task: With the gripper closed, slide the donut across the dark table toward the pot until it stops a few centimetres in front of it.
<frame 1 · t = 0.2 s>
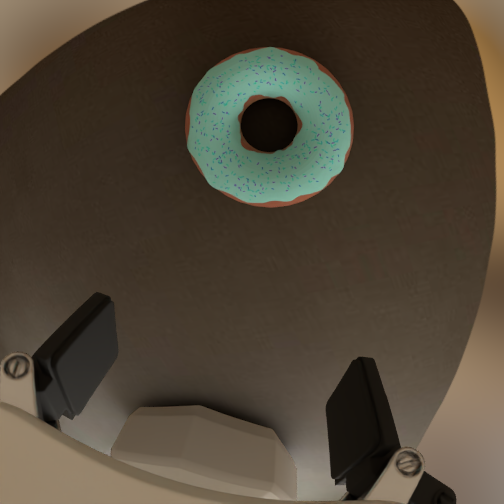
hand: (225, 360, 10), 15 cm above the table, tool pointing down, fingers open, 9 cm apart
pot: (210, 441, 37), on the table
donut: (270, 126, 20), on the table
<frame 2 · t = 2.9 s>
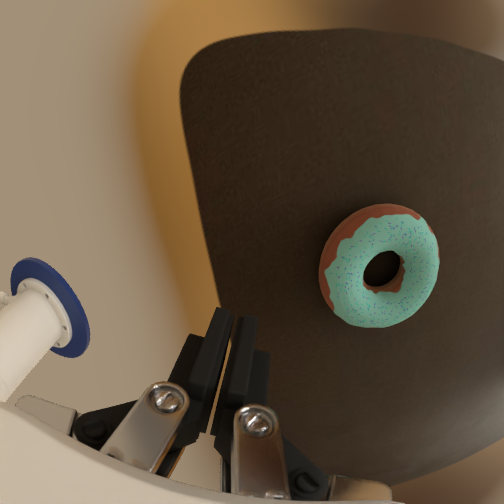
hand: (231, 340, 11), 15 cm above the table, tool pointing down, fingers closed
donut: (375, 260, 25), on the table
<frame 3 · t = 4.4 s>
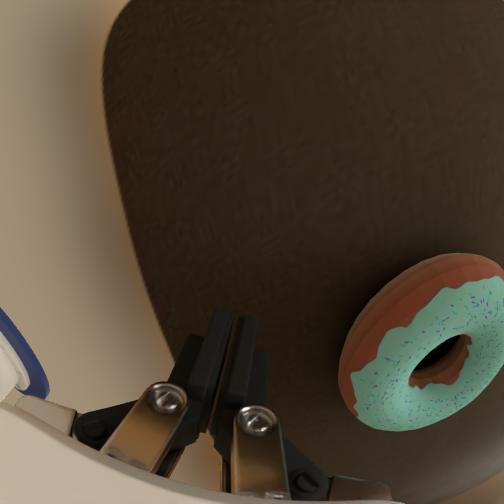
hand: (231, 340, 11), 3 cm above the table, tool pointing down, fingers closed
donut: (424, 332, 14), on the table
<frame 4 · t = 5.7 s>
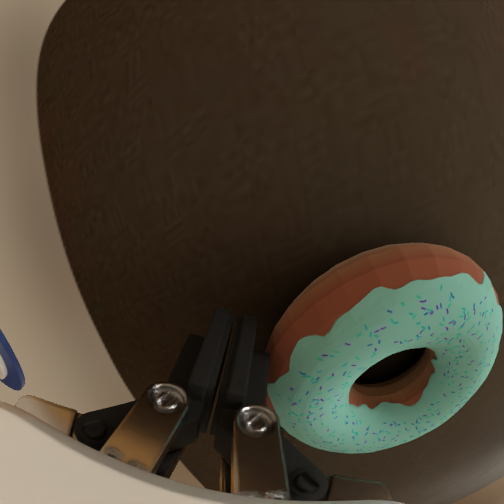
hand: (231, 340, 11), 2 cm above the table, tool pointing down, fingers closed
donut: (380, 339, 13), on the table, touching gripper
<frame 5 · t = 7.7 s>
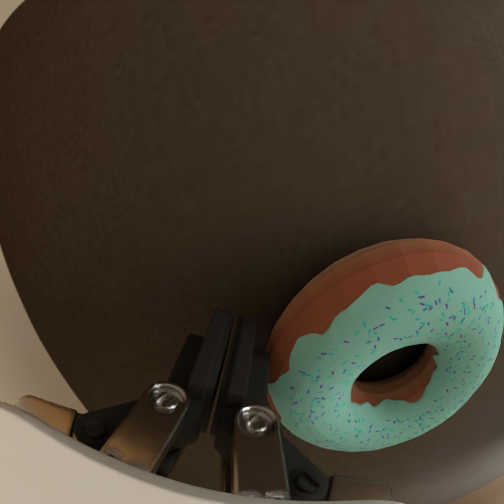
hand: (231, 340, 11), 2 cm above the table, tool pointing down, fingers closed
donut: (381, 337, 13), on the table, touching gripper
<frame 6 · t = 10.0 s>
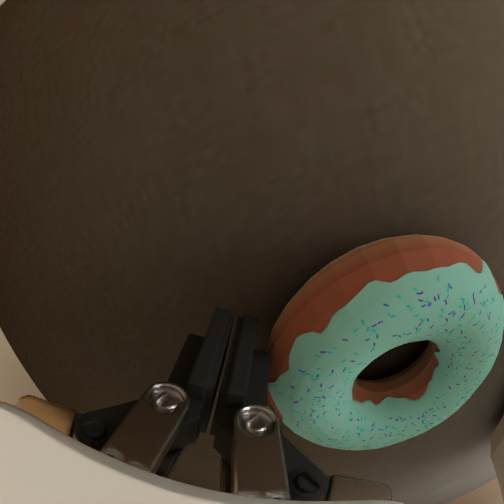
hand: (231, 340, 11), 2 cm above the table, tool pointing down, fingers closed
donut: (382, 334, 13), on the table, touching gripper
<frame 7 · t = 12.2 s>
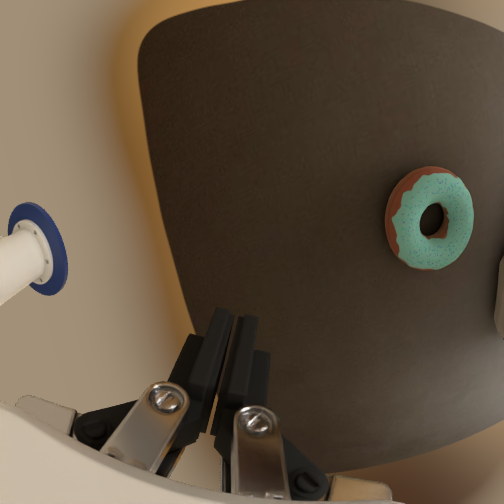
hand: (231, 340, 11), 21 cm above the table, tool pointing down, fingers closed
donut: (424, 214, 28), on the table
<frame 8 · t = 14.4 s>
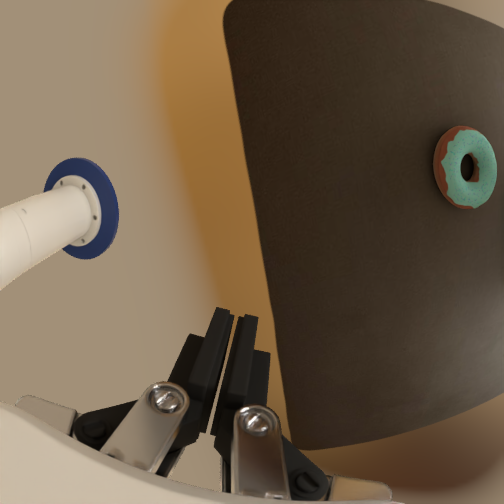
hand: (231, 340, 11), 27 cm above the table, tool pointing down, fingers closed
donut: (459, 165, 31), on the table
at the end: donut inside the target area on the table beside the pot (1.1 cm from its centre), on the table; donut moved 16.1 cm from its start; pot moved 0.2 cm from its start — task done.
